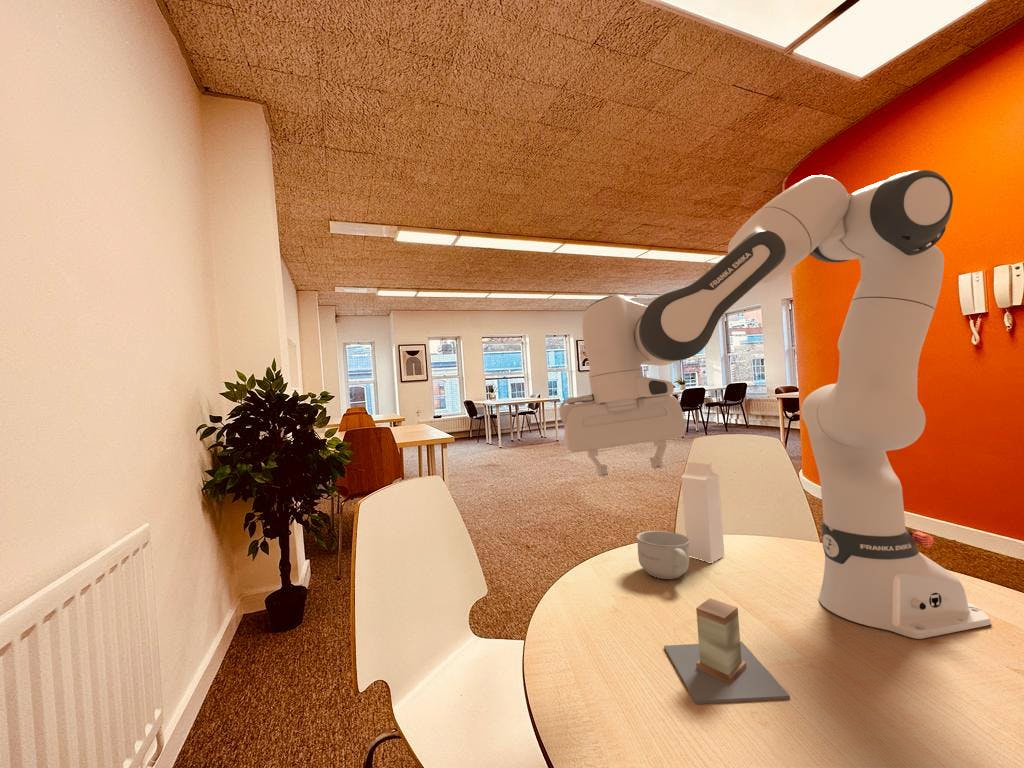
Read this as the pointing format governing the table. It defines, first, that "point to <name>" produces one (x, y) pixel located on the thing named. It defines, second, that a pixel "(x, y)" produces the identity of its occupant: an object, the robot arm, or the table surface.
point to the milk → (702, 512)
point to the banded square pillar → (719, 640)
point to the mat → (710, 689)
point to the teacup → (663, 553)
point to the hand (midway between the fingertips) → (630, 471)
